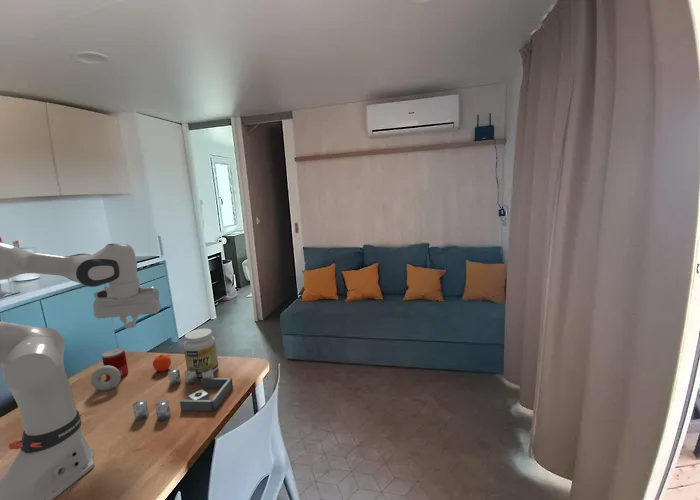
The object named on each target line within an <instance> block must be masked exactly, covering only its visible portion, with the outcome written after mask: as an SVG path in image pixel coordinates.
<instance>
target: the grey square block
mask: <svg viewBox="0 0 700 500" xmlns="http://www.w3.org/2000/svg"><path fill="white" fill-rule="evenodd" d="M188 400H210V395H209V393H208V392H207V391H205V390H204V389H203V388H201V389H199V390H196V391H195V392H193V393H191V394H189V395H188Z"/></svg>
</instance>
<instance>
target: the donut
mask: <svg viewBox="0 0 700 500" xmlns="http://www.w3.org/2000/svg"><path fill="white" fill-rule="evenodd" d="M106 374H107V375H109V376H110V377H111V379H110V380H107V381H105V380H103V379H102V377H103V376H104V375H105V376H106ZM121 379H122V378H121V374H120V372H119V370H118V369H117V368H115V367H113V366H109V365H107V366H104V365H102V366H99V367H98V368H96V369H95V370H94V371H93V372H92V373H91V376H90V383H91V386H92V387H93V388H94V389H96V390H98V391H101V392H102V391H103V392H104V391H110V390H112V389H114V388H116V387H117V386H118V385H119V383H120V382H121Z"/></svg>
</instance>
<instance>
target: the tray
mask: <svg viewBox="0 0 700 500" xmlns="http://www.w3.org/2000/svg"><path fill="white" fill-rule="evenodd" d="M200 383H201V389H203V388H205V389H218V388H219V390H218V391H217V393H216V394H215V395H214V396H213V397H212V399H209V400H189V399H180V401H179V403H180V404H179V406H180V410H181V411H184V412H185V411H186V412H189V411H190V412H215V411H216V410H217V408H218V406H219V405H221V403H222V402H223V400H224V398H225V397H226V396H227V395H228V393H230V391H231V390H232V388H233V385H234V384H233V378H232V377H214V378H202V377H201V379H200Z"/></svg>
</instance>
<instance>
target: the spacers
mask: <svg viewBox="0 0 700 500" xmlns="http://www.w3.org/2000/svg"><path fill="white" fill-rule="evenodd" d="M167 375H168V381H169V385H170V386H177V385H179V384H181V382H182V380H181V373H180V369H179V368H172V369H170V370H169V371H167ZM184 376H185V384H186V386H194V385H196V384H197V383H198V377H197V374H196V369H188V370H187V369H186V370H185V371H184ZM202 378H215V376H214V373H213V369H211V368H209V369H205V370H203V371H202V377H201V379H202ZM154 407H155V413H156V419H157V421H158V422H164V421H166V420H168V419H169V418H171V417H172V415H171V414H172V413H171V410H170V409H171V408H170V407H171V406H170V402H169V400H167V399H164V400H160V401H158V402H156V403H155V405H154ZM132 410H133V414H134V420H135V421H137V422H139V421H143V420H146V419H147V418H148V417H149V416H150V414H149V408H148V403H147V400H146V399H141V400H137V401H136V402H134V403H133V404H132Z"/></svg>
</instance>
